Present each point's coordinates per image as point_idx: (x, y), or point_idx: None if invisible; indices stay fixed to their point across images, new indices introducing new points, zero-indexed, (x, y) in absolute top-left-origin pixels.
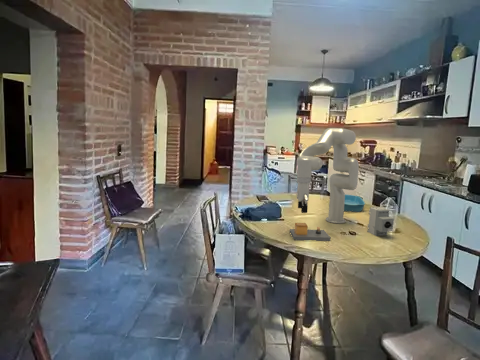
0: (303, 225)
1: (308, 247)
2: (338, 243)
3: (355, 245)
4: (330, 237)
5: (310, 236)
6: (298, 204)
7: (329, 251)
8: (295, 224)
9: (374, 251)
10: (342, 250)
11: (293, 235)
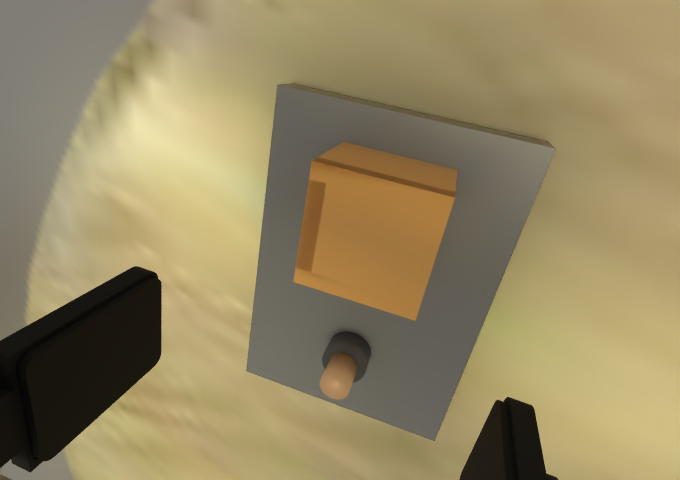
0: (315, 246)
1: (134, 138)
2: (216, 371)
3: (187, 428)
4: (246, 370)
5: (275, 245)
6: (508, 477)
7: (83, 241)
8: (408, 182)
9: (114, 443)
10: None
11: (314, 95)
